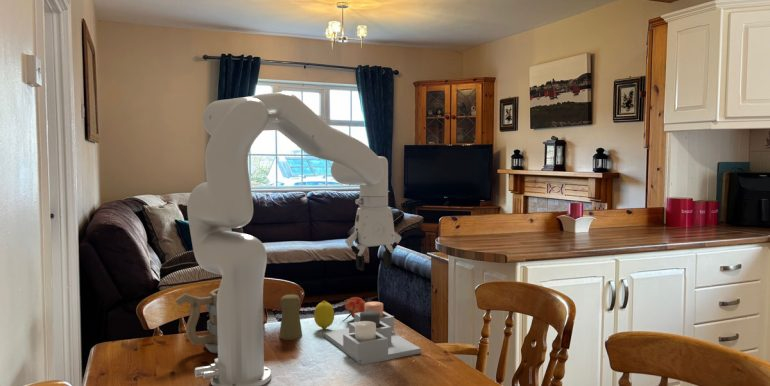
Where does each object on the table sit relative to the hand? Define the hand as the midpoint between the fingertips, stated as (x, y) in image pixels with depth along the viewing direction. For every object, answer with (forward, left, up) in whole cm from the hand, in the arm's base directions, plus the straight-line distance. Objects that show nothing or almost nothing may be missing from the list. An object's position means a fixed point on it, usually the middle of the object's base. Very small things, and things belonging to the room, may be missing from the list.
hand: (373, 268), depth 152 cm
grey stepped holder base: (-5, -7, -18) cm, 20 cm away
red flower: (0, +12, -18) cm, 22 cm away
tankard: (-40, +9, -18) cm, 44 cm away
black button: (-5, -7, -14) cm, 17 cm away
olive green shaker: (-21, +9, -18) cm, 29 cm away
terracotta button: (0, 0, -14) cm, 14 cm away
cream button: (-10, -15, -14) cm, 23 cm away
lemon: (-11, +10, -18) cm, 23 cm away
